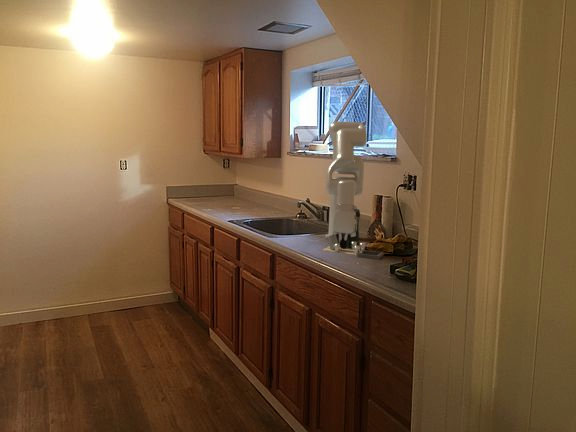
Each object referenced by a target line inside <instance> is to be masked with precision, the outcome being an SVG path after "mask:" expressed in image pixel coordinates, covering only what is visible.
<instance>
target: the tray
mask: <svg viewBox="0 0 576 432" xmlns="http://www.w3.org/2000/svg"><path fill="white" fill-rule="evenodd" d="M382 257H384V252H383V251H373V250H366V249H365V250H363V251H361V252H360V253H358V255H357V258H362V259H372V260H380V259H381V258H382Z"/></svg>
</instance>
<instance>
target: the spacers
mask: <svg viewBox="0 0 576 432" xmlns="http://www.w3.org/2000/svg"><path fill="white" fill-rule="evenodd" d="M345 249H347V247H346V248H345ZM351 249H352V250H355V252H354V254H353V255H356V254H358V253H360V251H363V250H366V242H364V241H362V242H359V246H357V242H354V241H353V242H352V248H351ZM337 252H340V244H335V252H334V253H337Z"/></svg>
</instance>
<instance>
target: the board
mask: <svg viewBox="0 0 576 432" xmlns="http://www.w3.org/2000/svg"><path fill="white" fill-rule="evenodd" d="M320 251H322V252H330V253H338V254H348V255H355V256H356V255H357V256H358V254H354V252H355V250H352V248H347V249H341V247H340V252H335V249H332V250H330V246H329V245H328V246H326V247H324V248H323V249H321V250H320ZM360 252H361V251H360Z"/></svg>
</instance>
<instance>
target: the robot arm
mask: <svg viewBox="0 0 576 432" xmlns="http://www.w3.org/2000/svg"><path fill="white" fill-rule="evenodd" d="M328 132H329V137H330V140H331V143H332V162H331V163H330V165H329V166H328V168H327V170H326V173H325V190H326V191H325V192H326V193H327V194H328V195H329V214H328V215H329V216H328V233H326V234H325V238H327V237H328V236H331V235H335V234H336V235H337V237H338V238H339V239H340V247H341V249H345V248H346V247H347V240H348V239H349V238H350V237H354V236H356V229H357V225H356V212H355V211H354V209H358V206H357V205H355V197H358V196H361V195H362V193H363V189H364V176H365V175H364V173H365V172H364V171H365V170H364V169H365V164H364V159H363V157H361V156H359V155H355V151H354V150H355V148H354V147H357V148H358V147H359V148H361V147H362V148H363V147H365V146H366V144H367V140H368V139H367V137H368V136H367V130H366V127H365V124H364V123H363V122H358V121H356V122H355V121H333V122H331V123H330V124H329V126H328ZM333 173H335V174H337V175H353V176H352V177H350V176H333ZM343 233H345V238H343Z"/></svg>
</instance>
